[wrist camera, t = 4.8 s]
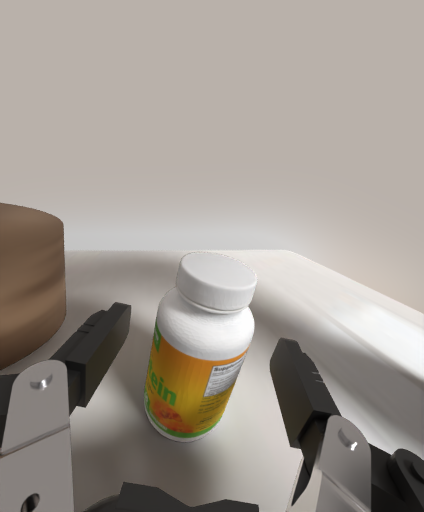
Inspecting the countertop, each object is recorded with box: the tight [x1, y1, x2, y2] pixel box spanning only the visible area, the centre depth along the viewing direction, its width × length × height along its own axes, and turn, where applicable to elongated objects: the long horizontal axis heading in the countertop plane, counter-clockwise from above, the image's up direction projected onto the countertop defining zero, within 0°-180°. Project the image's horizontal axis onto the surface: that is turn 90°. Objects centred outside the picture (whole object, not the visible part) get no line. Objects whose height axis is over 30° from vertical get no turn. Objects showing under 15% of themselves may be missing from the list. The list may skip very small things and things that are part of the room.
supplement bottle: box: [144, 252, 257, 442], centre depth 12 cm, size 5×5×10 cm
